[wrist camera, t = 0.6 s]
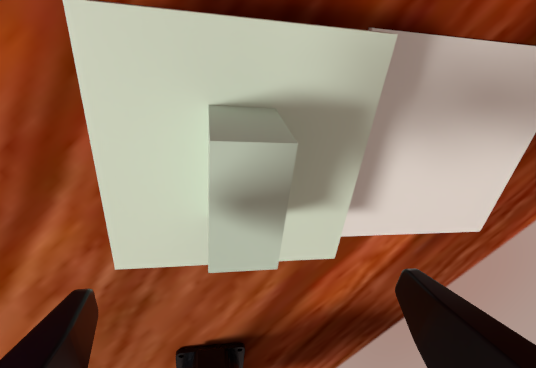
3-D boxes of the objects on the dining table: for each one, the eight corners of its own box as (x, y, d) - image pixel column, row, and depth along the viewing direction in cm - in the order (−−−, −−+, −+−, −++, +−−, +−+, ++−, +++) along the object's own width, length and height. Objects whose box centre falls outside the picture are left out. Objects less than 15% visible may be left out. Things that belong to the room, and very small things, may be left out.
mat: (476, 228, 28) (480, 231, 28) (319, 233, 25) (321, 237, 25) (575, 50, 21) (581, 51, 20) (369, 27, 18) (372, 28, 17)
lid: (330, 249, 21) (361, 311, 17) (118, 259, 18) (93, 335, 14) (388, 32, 14) (462, 47, 10) (70, -3, 11) (-3, -2, 7)
